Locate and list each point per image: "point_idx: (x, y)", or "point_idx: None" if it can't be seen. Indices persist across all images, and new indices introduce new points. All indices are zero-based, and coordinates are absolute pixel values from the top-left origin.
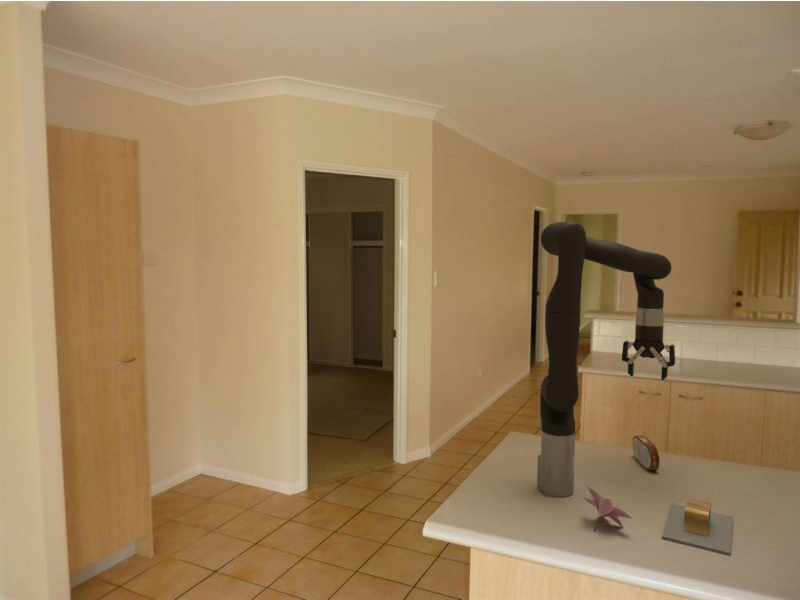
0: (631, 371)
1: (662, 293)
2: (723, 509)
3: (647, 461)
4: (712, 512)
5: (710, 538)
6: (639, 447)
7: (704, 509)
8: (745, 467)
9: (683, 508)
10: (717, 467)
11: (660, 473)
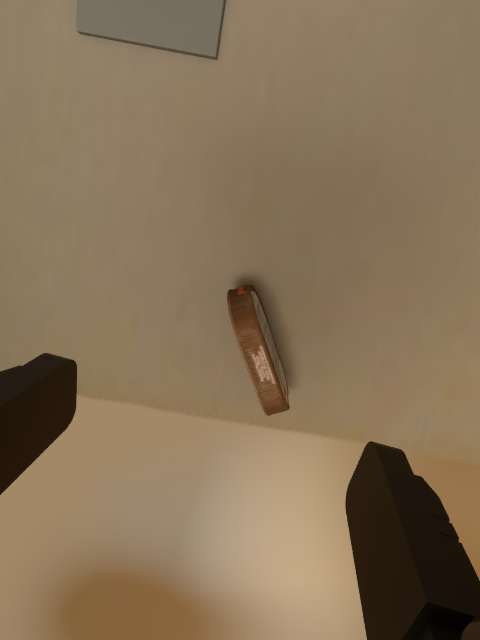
0: (403, 486)
1: None
2: (100, 94)
3: (258, 309)
4: (121, 37)
5: None
6: (274, 363)
7: None
8: None
9: (188, 30)
10: (109, 363)
11: None
